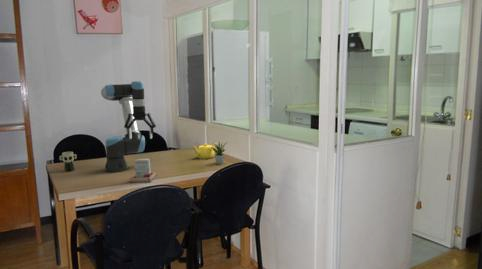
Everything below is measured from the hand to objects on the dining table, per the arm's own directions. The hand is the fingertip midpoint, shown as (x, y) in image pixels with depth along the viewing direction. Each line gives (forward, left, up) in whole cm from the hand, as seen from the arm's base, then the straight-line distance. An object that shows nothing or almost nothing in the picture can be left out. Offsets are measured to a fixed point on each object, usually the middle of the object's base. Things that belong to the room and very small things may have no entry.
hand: (140, 138), depth 248 cm
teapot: (+35, +51, -25) cm, 67 cm away
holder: (+4, -11, -24) cm, 27 cm away
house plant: (+48, +32, -25) cm, 63 cm away
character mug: (-58, +16, -25) cm, 66 cm away
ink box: (+3, -11, -24) cm, 26 cm away
